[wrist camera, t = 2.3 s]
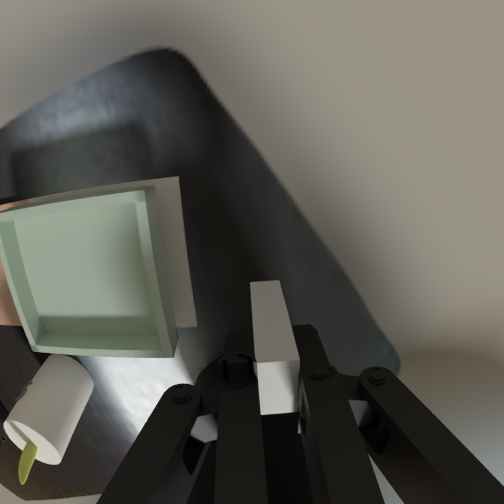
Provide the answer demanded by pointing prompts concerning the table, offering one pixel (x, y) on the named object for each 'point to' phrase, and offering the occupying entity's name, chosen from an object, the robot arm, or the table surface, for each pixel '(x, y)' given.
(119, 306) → the mint green tray
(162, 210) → the board
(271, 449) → the coffee jar
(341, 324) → the table surface
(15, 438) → the candle
